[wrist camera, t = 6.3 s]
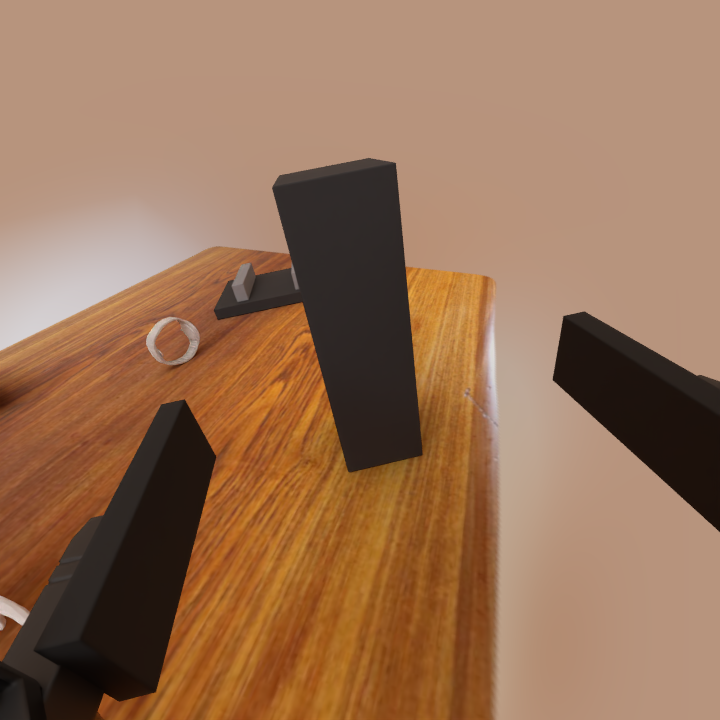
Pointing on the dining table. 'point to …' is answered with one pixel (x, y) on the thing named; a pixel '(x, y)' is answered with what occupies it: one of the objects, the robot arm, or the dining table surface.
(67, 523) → the dining table surface
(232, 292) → the base pad
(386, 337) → the standing block
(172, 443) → the robot arm
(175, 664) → the dining table surface
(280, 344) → the dining table surface
